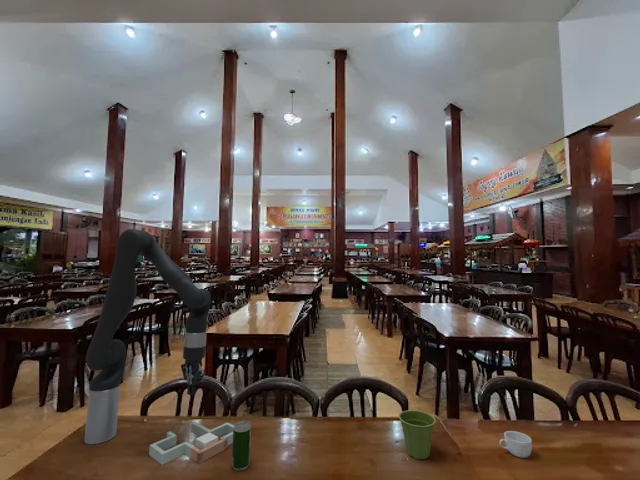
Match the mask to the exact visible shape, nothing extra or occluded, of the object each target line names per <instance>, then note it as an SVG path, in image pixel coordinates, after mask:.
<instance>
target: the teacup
mask: <svg viewBox="0 0 640 480" xmlns="http://www.w3.org/2000/svg"><path fill="white" fill-rule="evenodd" d="M503 436H504V437H503V438H502V439H499V441H498V442H499V446H500V447H502V448H503V449H505V450H508V452H509V453H510V454H512V455H513V456H515V457H516V458H522V459H525V458H528V457H529V456H530V455H531V453H532V449H533V448H532V445H533V441H532V440H533V439H532V438H531V437H530V436H529V435H527V434H525V433H522V432H519V431H515V430H507V431H504V433H503ZM502 442H504V445H505V446H504V445H502Z"/></svg>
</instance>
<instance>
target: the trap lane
mask: <svg viewBox="0 0 640 480" xmlns="http://www.w3.org/2000/svg"><path fill="white" fill-rule="evenodd" d="M233 428H234V424H232V423H230V422H228V421H227V422H225V423H222V424H221V425H218V426H216V427H214V428H212V429H209V428H207V427H206V426H204V425H202V424H200V423H198V422H196V421H193V422H191V423H190V431H191V433H194V434H195V435H197V436H198V437H201V436H203V435H205V434H207V433H209V432H210V433H212V434H213V435H215V436H217V437H218V442H216V443H214V444H212V445H210V446H208V447H206V448H204V449H202V450H200V449H198V448H196V445H195V446H194V445H193V444H192V443H190V442H188V441H187V440H186V441H184V442H182V443H180V444H177V441H178V435H177V434H175V433H174V432H172V431H167V432H166V438H163V439H161V440H159V441H156V442H154V443H152V444H149V450H148V451H149V452H148V453H149V454H148V455H149V457H151V458H152V459H154V460H155V461H156V462H157V463H159V464H160V465H162V466H163V465H165V464H167V463H169V462H171V461H173V460H175V459H177V458H179V457H181V456H183V455H185V456H187V457H188V458H189V459H191V460H192V461H194V462H195V463H197V464H200V463H202V462H205V461H206V460H208V459H210V458H212V457H215V456H216V455H218V454H220V453H222V452H224V451H226V450H227V449H228V446H230V445H231V444H233Z"/></svg>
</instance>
